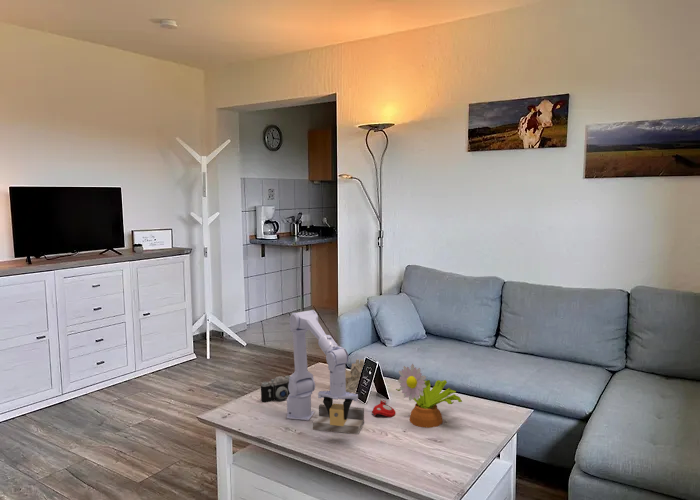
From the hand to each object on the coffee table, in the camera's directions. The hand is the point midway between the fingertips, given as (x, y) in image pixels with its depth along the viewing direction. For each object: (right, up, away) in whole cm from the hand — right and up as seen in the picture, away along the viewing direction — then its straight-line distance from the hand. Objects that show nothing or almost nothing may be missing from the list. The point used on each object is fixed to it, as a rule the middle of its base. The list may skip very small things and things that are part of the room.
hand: (338, 417), depth 189 cm
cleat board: (0, -7, +12) cm, 14 cm away
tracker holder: (+19, -6, +25) cm, 32 cm away
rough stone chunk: (+5, -3, +55) cm, 55 cm away
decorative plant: (+36, -6, +16) cm, 40 cm away
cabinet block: (0, -2, 0) cm, 2 cm away
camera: (-27, -5, +40) cm, 49 cm away
